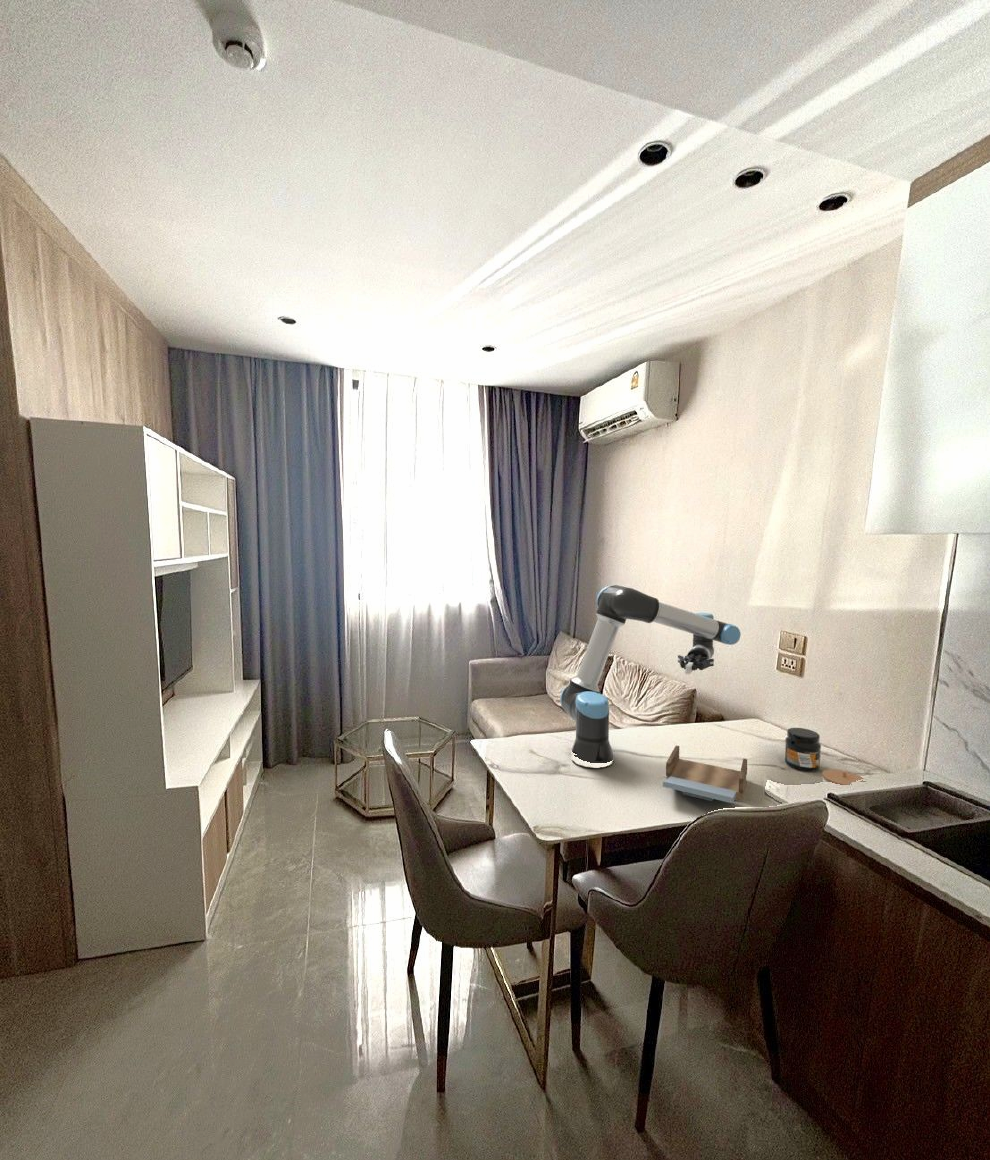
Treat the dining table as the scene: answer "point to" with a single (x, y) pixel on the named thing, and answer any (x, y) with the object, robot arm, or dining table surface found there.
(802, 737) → the supplement container
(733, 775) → the cart bed
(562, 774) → the dining table surface
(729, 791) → the tailgate
